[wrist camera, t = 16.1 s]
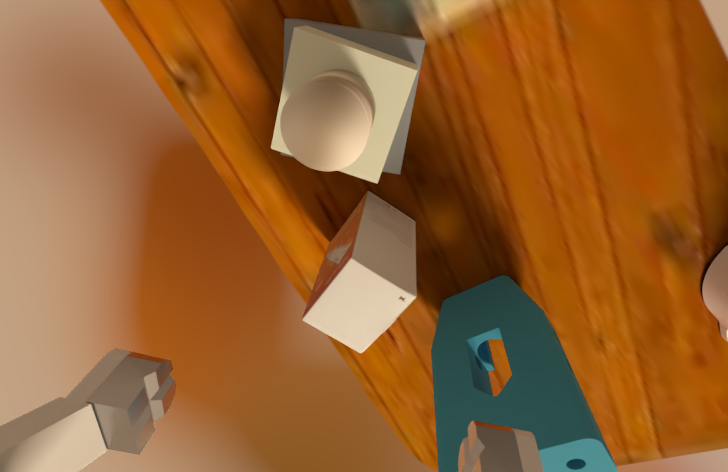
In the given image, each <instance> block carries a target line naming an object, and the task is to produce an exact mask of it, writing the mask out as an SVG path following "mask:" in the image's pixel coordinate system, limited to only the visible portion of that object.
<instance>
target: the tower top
mask: <svg viewBox="0 0 728 472" xmlns="http://www.w3.org/2000/svg"><path fill="white" fill-rule="evenodd" d="M332 69H342V70H347V71H350V72H352V73H354V74H356V75H358V76H359V77H361V78H362V79H363V80H364V81H365V82H366V83H367V85H368V86H369V88H370V89H371V91H372V93H373V96H374V100H375V106H376V112H375V118H374V121H373V125H372V128H371V131H370V134H369V137H368V140H367V143H366V146H365V148H364V150H363V152H362V153H361V155H360V156H359V157H358V158H357V160H355V161H354V162H353V163H352V164H350V165H349V166H347V167H345V168H343V169H340V170H337V171H340V172H343V173H346V174H349V175H352V176H355V177H358V178H361V179H364V180H367V181H370V182H373V183H377V184H378V181H379V178H380V175H381V172H382V170H383V167H384V164H385V161H386V158H387V155H388V153H389V150H390V147H391V144H392V141H393V139H394V136H395V133H396V130H397V127H398V124H399V122H400V119H401V116H402V113H403V110H404V107H405V105H406V102H407V99H408V96H409V93H410V91H411V88H412V85H413V82H414V79H415V76H416V74H417V64H415V63H412V62H409V61H406V60H403V59H400V58H398V57H395V56H392V55H389V54H386V53H384V52H381V51H378V50H375V49H372V48H369V47H367V46H364V45H361V44H358V43H355V42H352V41H350V40H347V39H344V38H341V37H338V36H335V35H333V34H330V33H327V32H324V31H321V30H318V29H316V28H313V27H310V26H300V27H294V31H293V36H292V41H291V46H290V51H289V57H288V62H287V67H286V72H285V77H284V82H283V87H282V93H281V98H280V103H279V108H278V113H277V118H276V123H275V129H274V134H273V139H272V144H271V149H273V150H276V151H279V152H282V153H286V154H289V155H292V154H291V153H290V151H289V150H288V148H287V147H286V145H285V143H284V140H283V138H282V134H281V128H280V118H281V112H282V109H283V107H284V104H285V102H286V101H287V99H288V98H289V96H290V95H291V94H292V93H293V92H294V91H296V90H297V89H298V88H300V87H301V86H303V85H304V84H306V83H307V82H309V81H310V80H311V79H313V78H314V77H316V76H317V75H319V74H321V73H322V72H325V71H328V70H332ZM292 156H293V155H292Z"/></svg>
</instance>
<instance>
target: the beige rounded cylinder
mask: <svg viewBox="0 0 728 472" xmlns="http://www.w3.org/2000/svg"><path fill="white" fill-rule="evenodd" d="M375 112H376V106H375V100H374V96H373V93H372V91H371V89H370V88H369V86H368V85H367V83H366V82H365V81H364V80H363V79H362V78H361V77H359V76H358V75H356V74H354V73H352V72H350V71H347V70H342V69H332V70H328V71H325V72H322V73H321V74H319V75H317V76H316V77H314V78H313V79H311V80H310V81H309V82H307V83H306V84H304V85H303V86H301V87H300V88H298V89H297V90H296V91H294V92H293V93H292V94H291V95H290V96H289V98H288V99H287V101H286V102H285V104H284V107H283V109H282V112H281V118H280V128H281V134H282V138H283V140H284V143H285V145H286V147H287V148H288V150H289V151H290V153H291V154H292V155H293V156H294V157H295V158H296V159H297V160H298V161H299V162H301V163H302V164H304V165H305V166H307V167H309V168H312V169H315V170H319V171H336V170H340V169H343V168H345V167H347V166H349V165H350V164H352V163H353V162H354V161H355V160H357V158H358V157H359V156H360V155H361V153H362V152H363V150H364V148H365V146H366V143H367V140H368V137H369V134H370V131H371V128H372V125H373V121H374V118H375Z"/></svg>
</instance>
